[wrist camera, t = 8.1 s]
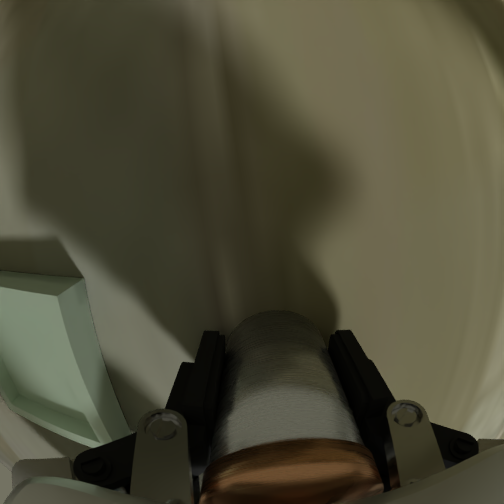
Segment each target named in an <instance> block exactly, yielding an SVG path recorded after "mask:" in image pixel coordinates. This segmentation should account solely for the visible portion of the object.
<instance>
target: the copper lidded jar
mask: <svg viewBox="0 0 504 504" xmlns="http://www.w3.org/2000/svg"><path fill="white" fill-rule="evenodd" d="M383 490H384V485H383V482H382V480H381V477H380V474H379V471H378V468H377V466H376V463H375V460H374V458H373V455H372V453H371V451H370V450H369V449H368V448H367V447H365V445H364V443H363V440H362V437H361V435H360V432H359V429H358V427H357V424H356V421H355V419H354V416H353V413H352V411H351V408H350V406H349V403H348V400H347V398H346V395H345V393H344V390H343V388H342V385H341V383H340V380H339V378H338V375H337V373H336V370H335V368H334V365H333V363H332V360H331V358H330V355H329V353H328V350H327V348H326V345H325V343H324V341H323V338H322V336H321V333H320V331H319V330H318V328H317V327H316V326H315V325H314V324H313V323H312V322H311V321H310V320H309V319H307V318H305V317H304V316H301V315H299V314H296V313H293V312H288V311H268V312H263V313H259V314H256V315H254V316H251V317H250V318H248V319H246V320H245V321H243V322H242V323H240V324H239V325H238V326H237V327H236V328H235V329H234V331H233V332H232V334H231V335H230V337H229V339H228V342H227V346H226V352H225V360H224V367H223V373H222V380H221V387H220V393H219V400H218V407H217V414H216V421H215V428H214V433H213V439H212V446H211V453H210V460H209V466H208V467H207V468H206V470H205V471H204V474H203V479H202V486H201V493H200V500H199V504H340V503H345V502H350V501H354V500H359V499H363V498H367V497H371V496H374V495H378V494H382V492H383Z"/></svg>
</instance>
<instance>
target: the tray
mask: <svg viewBox="0 0 504 504" xmlns="http://www.w3.org/2000/svg"><path fill="white" fill-rule="evenodd" d="M0 394H1V395H2V397H3V399H4V401H5V402H6V404H7V406H8V407H9V409H10V410H12V411H14V412H15V413H17V414H19V415H21V416H22V417H24V418H26V419H28V420H30V421H32V422H34V423H36V424H38V425H40V426H42V427H44V428H46V429H48V430H50V431H52V432H54V433H56V434H59V435H61V436H63V437H66V438H68V439H70V440H73V441H75V442H78V443H81V444H83V445H86V446H89V447H91V448H95V447H98V446H101V445H104V444H107V443H110V442H112V441H115V440H118V439H120V438H123V437H125V436H128V435H130V434H132V433H131V431H130V429H129V427H128V424H127V422H126V420H125V418H124V415H123V413H122V410H121V408H120V406H119V403H118V400H117V398H116V395H115V393H114V390H113V387H112V384H111V382H110V379H109V376H108V373H107V370H106V367H105V364H104V360H103V357H102V354H101V350H100V347H99V343H98V340H97V336H96V332H95V328H94V324H93V320H92V316H91V312H90V307H89V302H88V297H87V292H86V287H85V281H84V278H74V277H62V276H51V275H40V274H30V273H20V272H11V271H2V270H0Z"/></svg>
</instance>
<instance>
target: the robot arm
mask: <svg viewBox="0 0 504 504" xmlns="http://www.w3.org/2000/svg"><path fill="white" fill-rule="evenodd" d="M328 353H329V355H330V358H331V360H332V363H333V365H334V368H335V370H336V373H337V375H338V378H339V380H340V383H341V385H342V388H343V390H344V393H345V395H346V398H347V400H348V403H349V406H350V408H351V411H352V413H353V416H354V419H355V421H356V424H357V427H358V429H359V432H360V435H361V437H362V440H363V443H364V445H365V447H367V448H368V449H369V450H370V451H371V453H372V455H373V458H374V460H375V463H376V466H377V468H378V471H379V474H380V477H381V480H382V482H383V485H384V490H383V492H382V494H378V495H374V496H371V497H367V498H363V499H359V500H354V501H350V502H345V503H340V504H504V439H478V441H476V439H475V438H474V437H473V436H471V435H469V434H467V433H464V432H460V431H457V430H454V429H450V428H447V427H444V426H441V425H437V424H434V423H431V422H430V421H429V418H428V415H427V413H426V411H425V409H424V408H423V407H422V406H421V405H420V404H419V403H417V402H415V401H411V400H399V401H396V400H395V398H394V397H393V395H392V393H391V392H390V390H389V388H388V386H387V385H386V383H385V381H384V380H383V378H382V376H381V375H380V373H379V371H378V369H377V368H376V366H375V364H374V363H373V362H372V360H370V359H368V358H367V356H366V355H365V353H364V351H363V349H362V348H361V346H360V344H359V343H358V341H357V340H356V338H355V336H354V335H353V333H352V331H351V330H337V331H336V332H335V334H331V336H330V341H329V346H328ZM224 360H225V336H224V335H219V331H204V333H203V336H202V339H201V343H200V346H199V349H198V352H197V356H196V359H195V362H194V363H190V362H182V363H181V365H180V368H179V371H178V374H177V376H176V379H175V382H174V385H173V387H172V390H171V393H170V396H169V399H168V401H167V404H166V407H165V409H156V410H153V411H150V412H148V413H147V414H145V415H144V416H143V417H142V418H141V419H140V421H139V424H138V429H137V432H135V433H133V434H130V435H128V436H125V437H123V438H120V439H118V440H115V441H112V442H110V443H107V444H104V445H101V446H98V447H95V448H92V449H89V450H86V451H84V452H82V453H80V454H79V455H78V456H77V457H76V458H75V459H74V460H70V458H69V457H63V458H49V459H24V460H19V461H18V462H16V463H15V465H14V466H13V468H12V486H13V491H12V492H11V493H10V495H9V496H8V497H7V498H6V500H5V502H4V503H3V504H199V500H200V493H201V478H200V474H202V473H204V471H205V470H206V468H207V467H208V466H209V460H210V453H211V446H212V439H213V433H214V428H215V421H216V414H217V407H218V400H219V393H220V387H221V380H222V373H223V367H224Z"/></svg>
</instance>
